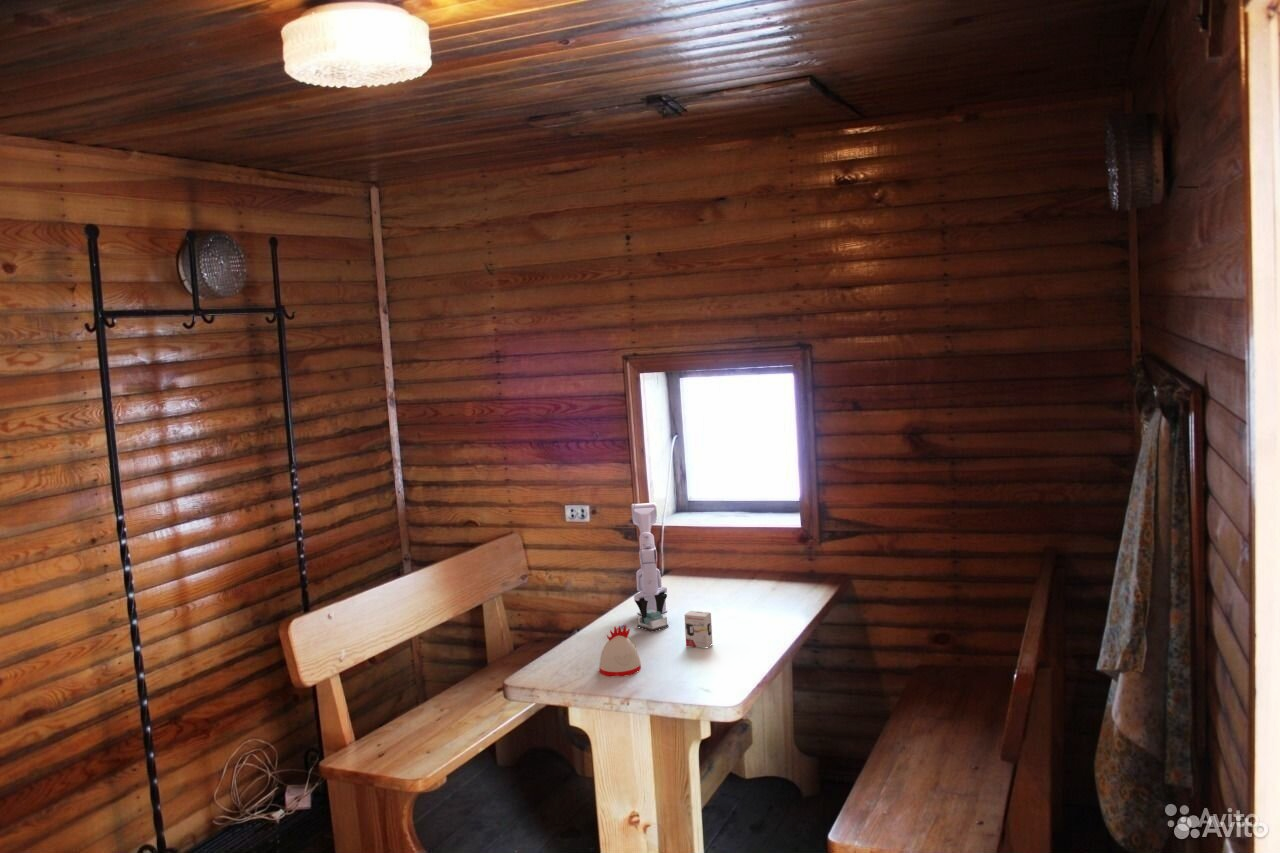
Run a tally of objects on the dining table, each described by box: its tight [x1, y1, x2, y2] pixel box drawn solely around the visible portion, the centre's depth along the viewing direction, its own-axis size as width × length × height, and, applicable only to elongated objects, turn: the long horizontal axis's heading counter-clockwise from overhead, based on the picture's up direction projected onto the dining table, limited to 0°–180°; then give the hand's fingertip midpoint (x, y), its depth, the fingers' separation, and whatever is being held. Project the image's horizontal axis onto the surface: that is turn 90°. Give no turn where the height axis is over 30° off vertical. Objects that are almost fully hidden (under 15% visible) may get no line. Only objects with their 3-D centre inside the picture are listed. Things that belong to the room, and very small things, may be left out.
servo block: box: [640, 610, 664, 624], centre depth 387 cm, size 4×8×6 cm, turn 39°
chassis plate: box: [636, 615, 669, 632], centre depth 387 cm, size 8×9×4 cm
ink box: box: [684, 610, 713, 648], centre depth 361 cm, size 9×5×12 cm, turn 62°
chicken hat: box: [598, 624, 642, 677], centre depth 341 cm, size 14×14×15 cm
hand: (652, 614), depth 387 cm, fingers open, 7 cm apart
